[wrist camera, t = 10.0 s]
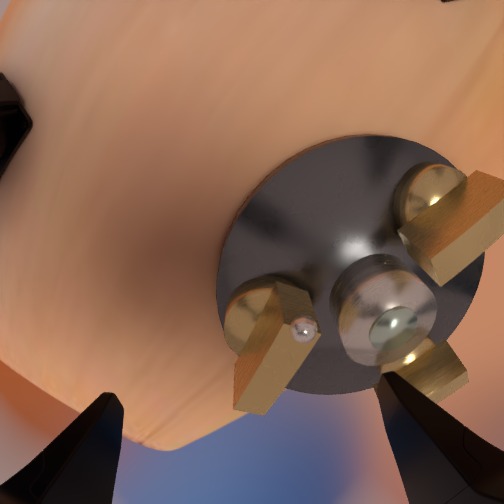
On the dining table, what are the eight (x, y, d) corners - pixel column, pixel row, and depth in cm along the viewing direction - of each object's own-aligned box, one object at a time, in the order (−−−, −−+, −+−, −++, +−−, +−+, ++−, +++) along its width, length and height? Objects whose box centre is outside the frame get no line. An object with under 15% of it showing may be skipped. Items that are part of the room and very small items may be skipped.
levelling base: (312, 409, 25) (323, 470, 19) (155, 258, 19) (117, 324, 12) (488, 295, 21) (532, 340, 14) (413, 79, 14) (488, 70, 8)
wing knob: (281, 356, 20) (291, 427, 14) (212, 337, 19) (203, 411, 14) (330, 272, 17) (362, 340, 12) (250, 245, 17) (252, 310, 11)
